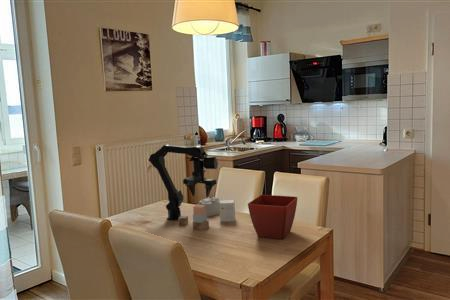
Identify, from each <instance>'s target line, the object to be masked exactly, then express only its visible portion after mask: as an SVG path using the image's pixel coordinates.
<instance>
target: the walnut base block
mask: <svg viewBox="0 0 450 300" xmlns="http://www.w3.org/2000/svg"><path fill="white" fill-rule="evenodd" d="M209 221H210V220H209V219H207V220H206V221H204V222H202V223H198V222H193V221H192V229H193V230H195V231H202V232H203V231H205V230H206V229H208V228H210V223H209Z"/></svg>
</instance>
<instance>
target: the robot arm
mask: <svg viewBox="0 0 450 300" xmlns="http://www.w3.org/2000/svg"><path fill="white" fill-rule="evenodd" d="M169 153H173V154H183V155H188V156H189V157H190V158H189V160H188V161H189V162H192V168H193V171H191V175H190V176H189V177H188V176H187V177H185V178H184V179H183V180H182V184H183V185H184V186H186V187H188V189H189V191H190V193H191V196H192V197H195V195H196V194H195V193H196V186H197V184H204V185H205V186H204V188H205V196H206V197H205V198H208V197H209V195H210V194H211V191H212V188H213V187H214V186H215V185H217V179H215V178H208V179H207V178H206V177H205V173H206V170H217V169H218V166H219V165H218V164H219V162H218V159H217V157H216V156H215V155H213V156H209V155H208V154H207V153H206V151H205V149H204V147H203V146H202V145H191V146H183V145H173V144H164V145H163V146H161V147H160V148H159V149H158V150H157V151H155V152H154V153H151V154H150V156H149V162H150V164H151V165H152V167H154V168H155V169H156V170H157V172H158V174H159V176H160V178H161V180H162V182H163V185H164V187H165V189H166V190H167V196H168V197H167V198H168V203H167V204H166V205H165V208H166V210H167V217H166V220H170V221H177V220H178V218H179V217H180V216H182V213H181V208H180V207H181V205H182V203H183V202H184V194H183V193H182V190H178V189H177V188H176V187H175V184H174V182H173V180H172V178H171V176H170V173H169V172H168V170H167V167H166V160H165V157H166V156H167V155H168V154H169Z"/></svg>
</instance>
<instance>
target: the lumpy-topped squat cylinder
mask: <svg viewBox="0 0 450 300" xmlns="http://www.w3.org/2000/svg"><path fill="white" fill-rule="evenodd" d="M220 201H223V200H222V198H219V197H216V196H213V197H209V196H208V198H207V197H205V198H203V199H201V200H199V202H198V203H199V204H198V205H205V209H206V217H211V216H215V215H216V216H217V215H220V207H219V203H220Z"/></svg>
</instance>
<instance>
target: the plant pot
mask: <svg viewBox="0 0 450 300" xmlns="http://www.w3.org/2000/svg"><path fill="white" fill-rule="evenodd" d="M297 205H298V196H292V195H291V196H289V195H278V194H277V195H274V194H260V195H258V196H257V197H256V198H254V199H253V200H251V201H250V202H248V203H247V208H248V212H249V216H250V219H251V220H250V221H251V223H252V226H253V229H254V231H255V233H256V236H257V237H259V238H269V239H277V240H284V239H285V238H286V237H287V235H288V234H289V233H290V232H291V230H292V227H293V224H294V221H295V216H296V211H297Z"/></svg>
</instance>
